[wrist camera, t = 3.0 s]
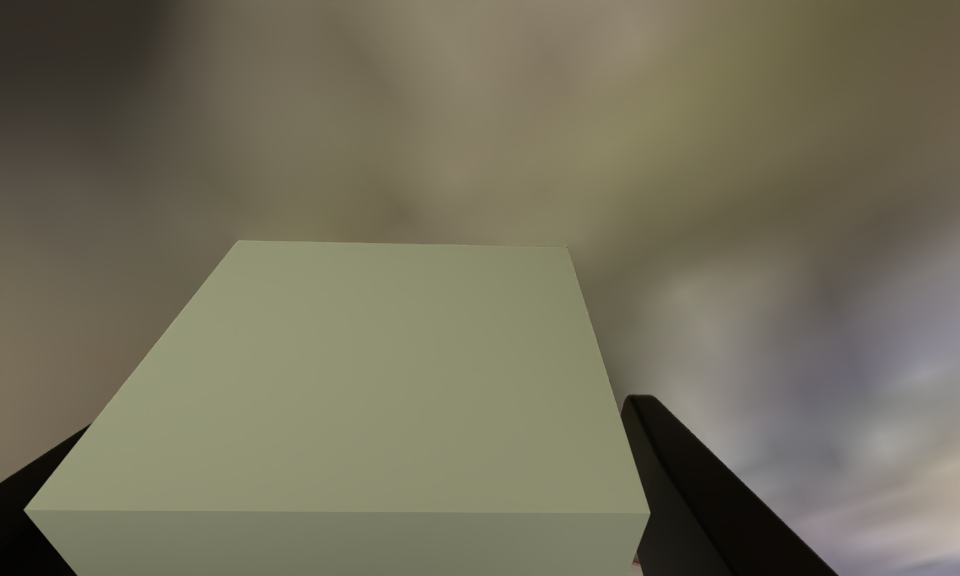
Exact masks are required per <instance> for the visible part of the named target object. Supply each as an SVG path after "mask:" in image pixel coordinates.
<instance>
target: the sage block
mask: <svg viewBox="0 0 960 576" xmlns="http://www.w3.org/2000/svg"><path fill="white" fill-rule="evenodd" d="M24 511H25V512H26V514H27V515H28V516H29V517H30V519H31V520H32V521H33V522H34V523H35V525H36V526H37V527H38V528H39V529H40V531H41V532H42V533H43V534H44V535H45V537H46V538H47V539H48V540H49V542H50V543H51V544H52V545H53V546H54V548H55V549H56V550H57V551H58V552H59V554H60V555H61V556H62V557H63V559H64V560H65V561H66V562H67V563H68V565H69V566H70V567H71V568H72V569H73V571H74V572H75V573H76V574H77V576H627V575H628V572H629V569H630V567H631V564H632V562H633V559H634V556H635V554H636V551H637V548H638V546H639V543H640V540H641V538H642V535H643V532H644V530H645V527H646V524H647V522H648V519H649V516H650V514H651V513H650V510H649V507H648V503H647V500H646V497H645V494H644V491H643V487H642V484H641V481H640V478H639V475H638V471H637V468H636V465H635V462H634V459H633V455H632V452H631V449H630V446H629V442H628V439H627V436H626V433H625V430H624V426H623V423H622V420H621V417H620V414H619V410H618V407H617V404H616V401H615V398H614V394H613V391H612V388H611V385H610V382H609V378H608V375H607V372H606V369H605V366H604V362H603V359H602V356H601V353H600V350H599V346H598V343H597V340H596V337H595V334H594V330H593V327H592V324H591V321H590V318H589V314H588V311H587V308H586V305H585V302H584V298H583V295H582V292H581V289H580V286H579V282H578V279H577V276H576V273H575V270H574V266H573V263H572V260H571V257H570V254H569V250H568V247H548V246H497V245H446V244H395V243H344V242H293V241H242V240H237V242H236V243H235V244H234V245H233V247H232V248H231V249H230V250H229V252H228V253H227V254H226V256H225V257H224V258H223V259H222V261H221V262H220V263H219V264H218V266H217V267H216V268H215V269H214V271H213V272H212V273H211V274H210V276H209V277H208V278H207V279H206V281H205V282H204V283H203V285H202V286H201V287H200V288H199V290H198V291H197V292H196V293H195V295H194V296H193V297H192V298H191V300H190V301H189V302H188V303H187V305H186V306H185V307H184V308H183V310H182V311H181V312H180V314H179V315H178V316H177V317H176V319H175V320H174V321H173V322H172V324H171V325H170V326H169V327H168V329H167V330H166V331H165V332H164V334H163V335H162V336H161V337H160V339H159V340H158V341H157V343H156V344H155V345H154V346H153V348H152V349H151V350H150V351H149V353H148V354H147V355H146V356H145V358H144V359H143V360H142V361H141V363H140V364H139V365H138V366H137V368H136V369H135V370H134V372H133V373H132V374H131V375H130V377H129V378H128V379H127V380H126V382H125V383H124V384H123V385H122V387H121V388H120V389H119V390H118V392H117V393H116V394H115V395H114V397H113V398H112V399H111V400H110V402H109V403H108V404H107V406H106V407H105V408H104V409H103V411H102V412H101V413H100V414H99V416H98V417H97V418H96V419H95V421H94V422H93V423H92V424H91V426H90V427H89V428H88V429H87V431H86V432H85V433H84V435H83V436H82V437H81V438H80V440H79V441H78V442H77V443H76V445H75V446H74V447H73V448H72V450H71V451H70V452H69V453H68V455H67V456H66V457H65V458H64V460H63V461H62V462H61V464H60V465H59V466H58V467H57V469H56V470H55V471H54V472H53V474H52V475H51V476H50V477H49V479H48V480H47V481H46V482H45V484H44V485H43V486H42V487H41V489H40V490H39V491H38V493H37V494H36V495H35V496H34V498H33V499H32V500H31V501H30V503H29V504H28V505H27V506H26V508H25V509H24Z"/></svg>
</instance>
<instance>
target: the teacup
mask: <svg viewBox="0 0 960 576" xmlns="http://www.w3.org/2000/svg"><path fill="white" fill-rule="evenodd" d="M627 576H643V573H642V570H641V566H640V564H638V563H635V562H632V564H631V567H630V569H629V572H628V575H627Z"/></svg>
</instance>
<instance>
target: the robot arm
mask: <svg viewBox="0 0 960 576" xmlns="http://www.w3.org/2000/svg"><path fill="white" fill-rule="evenodd" d="M620 417H621V420H622V423H623V426H624V430H625V433H626V436H627V439H628V442H629V446H630V449H631V452H632V455H633V459H634V462H635V465H636V468H637V471H638V475H639V478H640V481H641V484H642V487H643V491H644V494H645V497H646V500H647V503H648V507H649V510H650V513H651V514H650V516H649V519H648V522H647V524H646V527H645V530H644V532H643V535H642V538H641V540H640V543H639V546H638V548H637V555H638V559H639V562H640V566H641V570H642V573H643V576H839V575H838V574H837V573H836V572H835V571H834V570H833V569H831V568H830V567H829V566H828V565H827V564H826V563H825V562H824V561H823V560H822V559H821V558H820V557H819V556H818V555H817V554H816V553H815V552H814V551H813V550H812V549H811V548H810V547H809V546H808V545H807V544H806V543H805V542H804V541H803V540H802V539H801V538H800V537H799V536H798V535H797V534H796V533H794V532H793V531H792V530H791V529H790V528H789V527H788V526H787V525H786V524H785V523H784V522H783V521H782V520H781V519H780V518H779V517H778V516H777V515H776V514H775V513H774V512H773V511H772V510H771V509H770V508H769V507H768V506H767V505H766V504H765V503H764V502H763V501H762V500H761V499H760V498H759V497H757V496H756V495H755V494H754V493H753V492H752V491H751V490H750V489H749V488H748V487H747V486H746V485H745V484H744V483H743V482H742V481H741V480H740V479H739V478H738V477H737V476H736V475H735V474H734V473H733V472H732V471H731V470H730V469H729V468H728V467H727V466H726V465H725V464H724V463H723V462H722V461H721V460H719V459H718V458H717V457H716V456H715V455H714V454H713V453H712V452H711V451H710V450H709V449H708V448H707V447H706V446H705V445H704V444H703V443H702V442H701V441H700V440H699V439H698V438H697V437H696V436H695V435H694V434H693V433H692V432H691V431H690V430H689V429H688V428H687V427H686V426H685V425H684V424H682V423H681V422H680V421H679V420H678V419H677V418H676V417H675V416H674V415H673V414H672V413H671V412H670V411H669V410H668V409H667V408H666V407H665V406H664V405H663V404H662V403H661V402H660V401H659V400H658V399H657V398H656V397H654V396H652V395H628V396H627V397H626V399H625V401H624V404H623V408H622V412H621V416H620ZM92 423H93V422H92ZM92 423H91V424H92ZM91 424H89V425H88V426H86V427H85V428H83V429H82V430H80V431H79V432H77V433H76V434H74V435H72V436H71V437H69V438H68V439H66V440H65V441H63V442H62V443H60V444H59V445H57V446H56V447H54V448H53V449H51V450H50V451H48V452H47V453H45V454H43V455H42V456H40V457H39V458H37V459H36V460H34V461H33V462H31V463H30V464H28V465H27V466H25V467H24V468H22V469H21V470H19V471H17V472H16V473H14V474H13V475H11V476H10V477H8V478H7V479H5V480H4V481H2V482H1V483H0V576H77V574H76V573H75V572H74V571H73V569H72V568H71V567H70V566H69V565H68V563H67V562H66V561H65V560H64V559H63V557H62V556H61V555H60V554H59V552H58V551H57V550H56V549H55V548H54V546H53V545H52V544H51V543H50V542H49V540H48V539H47V538H46V537H45V535H44V534H43V533H42V532H41V531H40V529H39V528H38V527H37V526H36V525H35V523H34V522H33V521H32V520H31V519H30V517H29V516H28V515H27V514H26V512H25V511H24V509H25V508H26V506H27V505H28V504H29V503H30V501H31V500H32V499H33V498H34V496H35V495H36V494H37V493H38V491H39V490H40V489H41V487H42V486H43V485H44V484H45V482H46V481H47V480H48V479H49V477H50V476H51V475H52V474H53V472H54V471H55V470H56V469H57V467H58V466H59V465H60V464H61V462H62V461H63V460H64V458H65V457H66V456H67V455H68V453H69V452H70V451H71V450H72V448H73V447H74V446H75V445H76V443H77V442H78V441H79V440H80V438H81V437H82V436H83V435H84V433H85V432H86V431H87V429H88V428H89V427H90V426H91Z"/></svg>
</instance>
